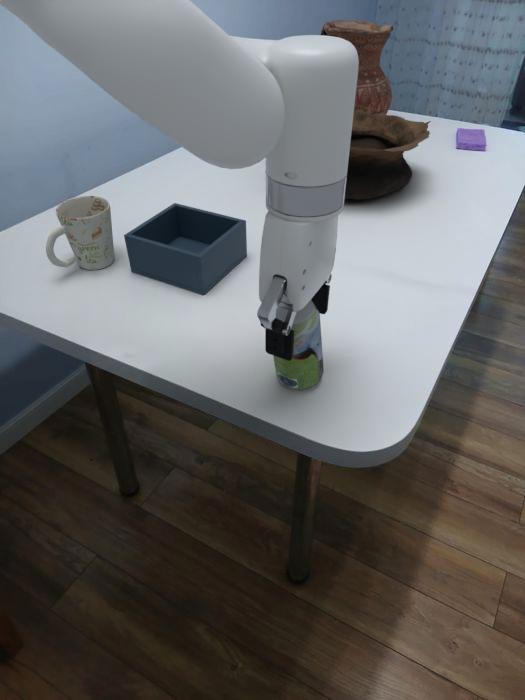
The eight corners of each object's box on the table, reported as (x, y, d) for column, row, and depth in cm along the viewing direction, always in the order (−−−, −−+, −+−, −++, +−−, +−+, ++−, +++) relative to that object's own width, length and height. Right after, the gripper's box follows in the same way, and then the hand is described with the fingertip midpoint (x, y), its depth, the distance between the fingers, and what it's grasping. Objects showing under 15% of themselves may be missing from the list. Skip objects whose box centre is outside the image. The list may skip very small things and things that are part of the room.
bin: (131, 272, 83) (123, 235, 78) (179, 237, 92) (174, 202, 87) (204, 295, 77) (200, 257, 73) (247, 256, 86) (246, 220, 82)
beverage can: (332, 377, 63) (341, 300, 56) (293, 407, 60) (297, 329, 52) (296, 354, 67) (300, 278, 59) (257, 381, 63) (255, 304, 55)
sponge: (456, 149, 127) (458, 141, 126) (456, 133, 136) (457, 126, 135) (485, 151, 125) (487, 144, 124) (482, 136, 135) (484, 128, 133)
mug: (131, 257, 86) (120, 203, 80) (75, 291, 78) (58, 234, 72) (97, 244, 90) (84, 191, 83) (41, 276, 82) (21, 220, 75)
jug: (394, 122, 144) (411, 20, 127) (376, 145, 129) (392, 32, 113) (322, 113, 151) (329, 15, 134) (297, 134, 136) (301, 27, 120)
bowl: (308, 151, 130) (317, 88, 121) (431, 183, 118) (451, 116, 109) (237, 185, 106) (241, 109, 97) (383, 229, 94) (404, 148, 85)
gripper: (307, 155, 54) (300, 287, 65) (223, 219, 42) (232, 365, 54) (373, 167, 51) (354, 302, 62) (302, 238, 40) (294, 388, 51)
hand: (297, 331), depth 58 cm, fingers open, 9 cm apart
